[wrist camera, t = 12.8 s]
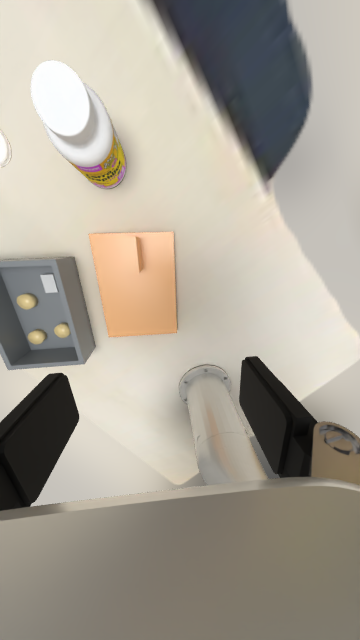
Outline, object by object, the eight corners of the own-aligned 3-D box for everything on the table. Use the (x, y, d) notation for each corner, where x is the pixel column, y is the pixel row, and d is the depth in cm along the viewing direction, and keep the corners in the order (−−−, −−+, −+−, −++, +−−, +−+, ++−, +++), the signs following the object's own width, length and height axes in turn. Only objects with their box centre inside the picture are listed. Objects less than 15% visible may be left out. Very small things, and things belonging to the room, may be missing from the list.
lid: (176, 328, 39) (179, 345, 32) (111, 332, 38) (101, 350, 31) (172, 232, 32) (175, 229, 25) (92, 234, 31) (74, 231, 24)
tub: (95, 347, 38) (84, 364, 33) (30, 351, 37) (8, 369, 32) (74, 257, 32) (55, 259, 26) (-6, 259, 31) (-43, 263, 25)
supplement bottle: (96, 197, 29) (49, 162, 17) (71, 145, 26) (-4, 62, 14) (134, 179, 28) (115, 131, 16) (113, 125, 26) (72, 23, 14)
